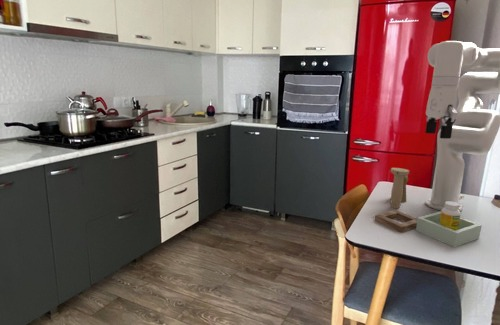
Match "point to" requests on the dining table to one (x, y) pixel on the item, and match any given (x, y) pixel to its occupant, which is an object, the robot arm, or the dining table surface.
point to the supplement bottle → (450, 215)
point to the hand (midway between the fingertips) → (437, 135)
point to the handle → (397, 186)
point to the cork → (404, 189)
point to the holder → (387, 220)
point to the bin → (448, 230)
